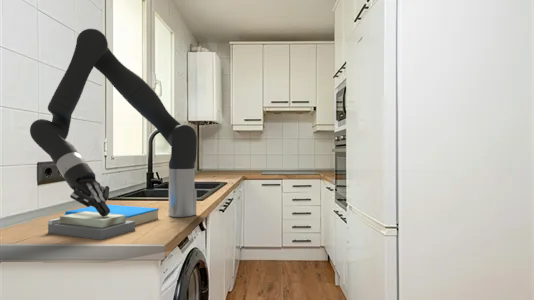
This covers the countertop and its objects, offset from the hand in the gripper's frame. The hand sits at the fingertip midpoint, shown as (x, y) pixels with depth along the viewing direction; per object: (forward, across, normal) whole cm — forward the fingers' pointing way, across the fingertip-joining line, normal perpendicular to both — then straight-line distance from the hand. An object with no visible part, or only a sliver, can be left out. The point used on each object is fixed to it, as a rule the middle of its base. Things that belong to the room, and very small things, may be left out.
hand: (106, 214), depth 103 cm
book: (-4, +15, +13) cm, 20 cm away
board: (0, 0, +8) cm, 8 cm away
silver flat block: (-2, 0, +6) cm, 6 cm away
